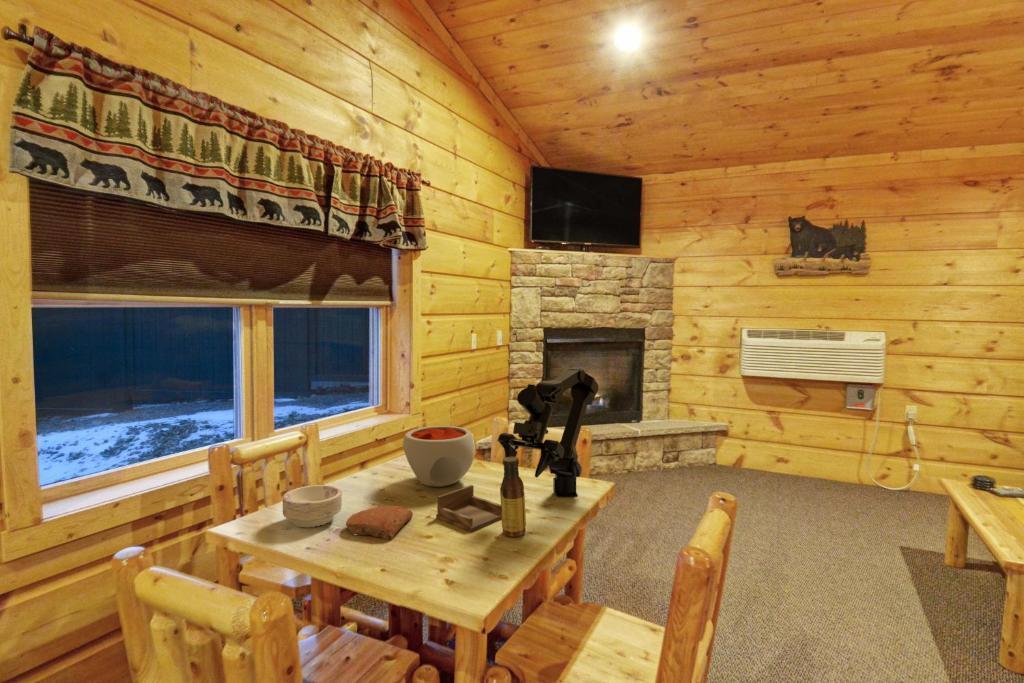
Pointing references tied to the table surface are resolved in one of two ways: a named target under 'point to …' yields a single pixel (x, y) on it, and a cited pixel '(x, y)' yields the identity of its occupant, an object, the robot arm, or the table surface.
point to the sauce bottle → (512, 499)
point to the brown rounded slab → (379, 521)
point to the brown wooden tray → (467, 509)
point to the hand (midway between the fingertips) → (521, 474)
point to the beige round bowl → (312, 505)
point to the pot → (439, 454)
